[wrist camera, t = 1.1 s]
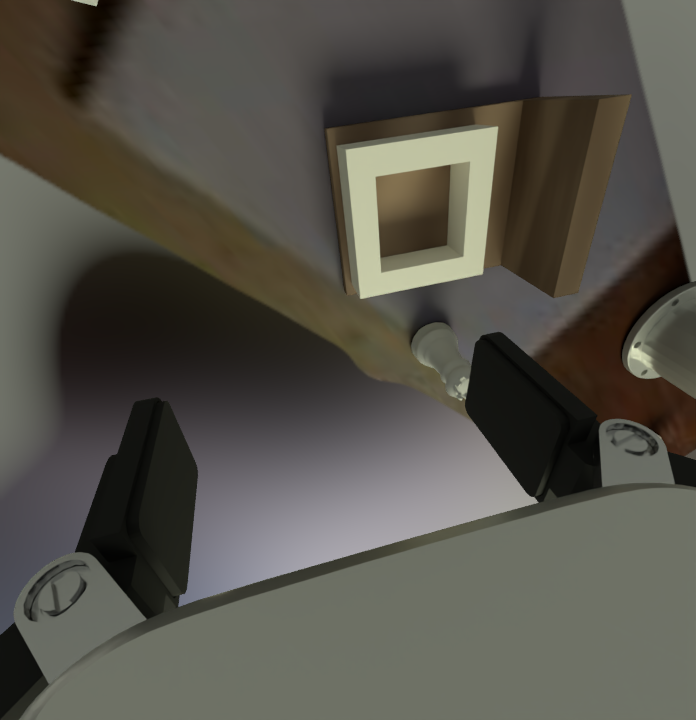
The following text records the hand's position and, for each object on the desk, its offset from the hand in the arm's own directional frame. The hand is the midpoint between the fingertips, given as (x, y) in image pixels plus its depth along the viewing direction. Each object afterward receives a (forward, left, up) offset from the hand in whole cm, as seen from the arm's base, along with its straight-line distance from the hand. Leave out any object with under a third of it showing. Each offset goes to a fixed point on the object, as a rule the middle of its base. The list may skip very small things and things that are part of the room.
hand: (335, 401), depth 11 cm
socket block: (-10, 0, -20) cm, 22 cm away
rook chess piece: (-12, +13, -21) cm, 27 cm away
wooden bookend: (-12, 0, -21) cm, 24 cm away
